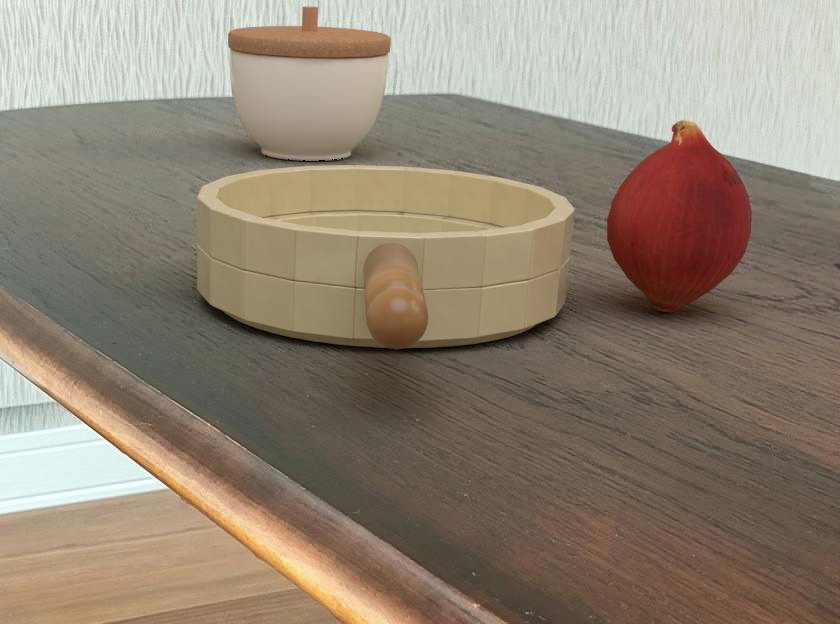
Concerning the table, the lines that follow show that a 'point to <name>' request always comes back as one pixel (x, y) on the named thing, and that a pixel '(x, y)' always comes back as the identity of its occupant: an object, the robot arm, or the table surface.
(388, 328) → the pan handle
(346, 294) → the pan
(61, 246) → the table surface
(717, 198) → the onion
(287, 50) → the trinket box
